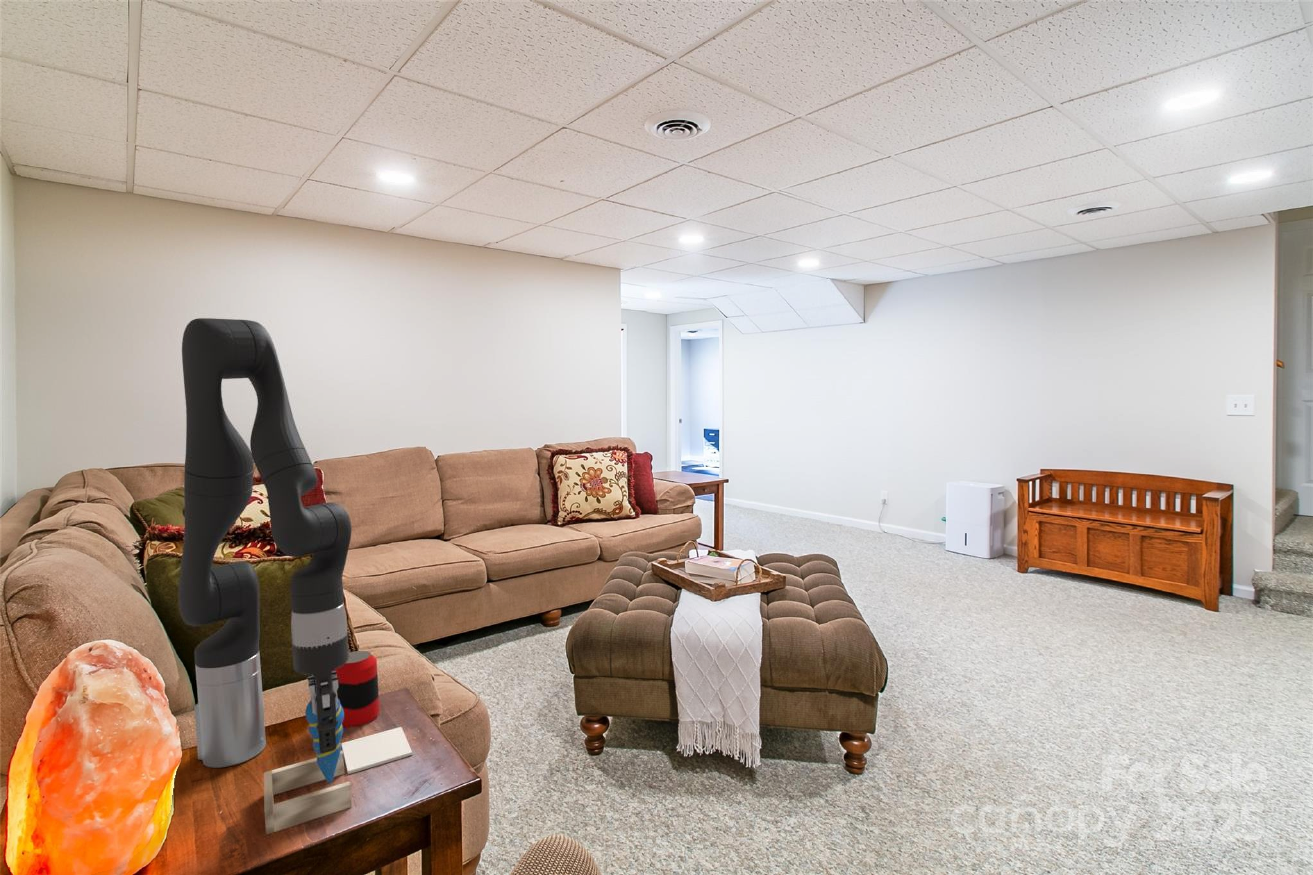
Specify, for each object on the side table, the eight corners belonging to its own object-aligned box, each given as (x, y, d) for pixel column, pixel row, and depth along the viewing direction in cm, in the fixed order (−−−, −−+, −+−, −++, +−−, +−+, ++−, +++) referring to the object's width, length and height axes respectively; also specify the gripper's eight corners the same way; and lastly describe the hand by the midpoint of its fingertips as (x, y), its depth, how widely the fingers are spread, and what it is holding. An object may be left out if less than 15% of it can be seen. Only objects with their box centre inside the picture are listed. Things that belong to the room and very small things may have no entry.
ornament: (331, 793, 96) (325, 697, 95) (302, 789, 97) (295, 694, 96) (354, 773, 101) (349, 681, 100) (326, 770, 102) (320, 679, 101)
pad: (348, 774, 105) (347, 771, 105) (341, 745, 113) (341, 743, 113) (412, 754, 110) (412, 752, 110) (401, 729, 118) (401, 726, 118)
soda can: (345, 709, 127) (341, 650, 126) (384, 706, 127) (381, 647, 126) (329, 729, 119) (325, 666, 118) (372, 726, 120) (368, 663, 119)
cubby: (266, 834, 91) (264, 811, 90) (265, 793, 100) (264, 772, 100) (351, 806, 96) (350, 784, 96) (343, 770, 106) (342, 750, 105)
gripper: (352, 645, 93) (358, 757, 95) (342, 616, 106) (348, 716, 107) (293, 657, 90) (300, 773, 91) (290, 626, 102) (297, 729, 103)
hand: (326, 741), depth 99 cm, fingers closed on ornament, 5 cm apart
